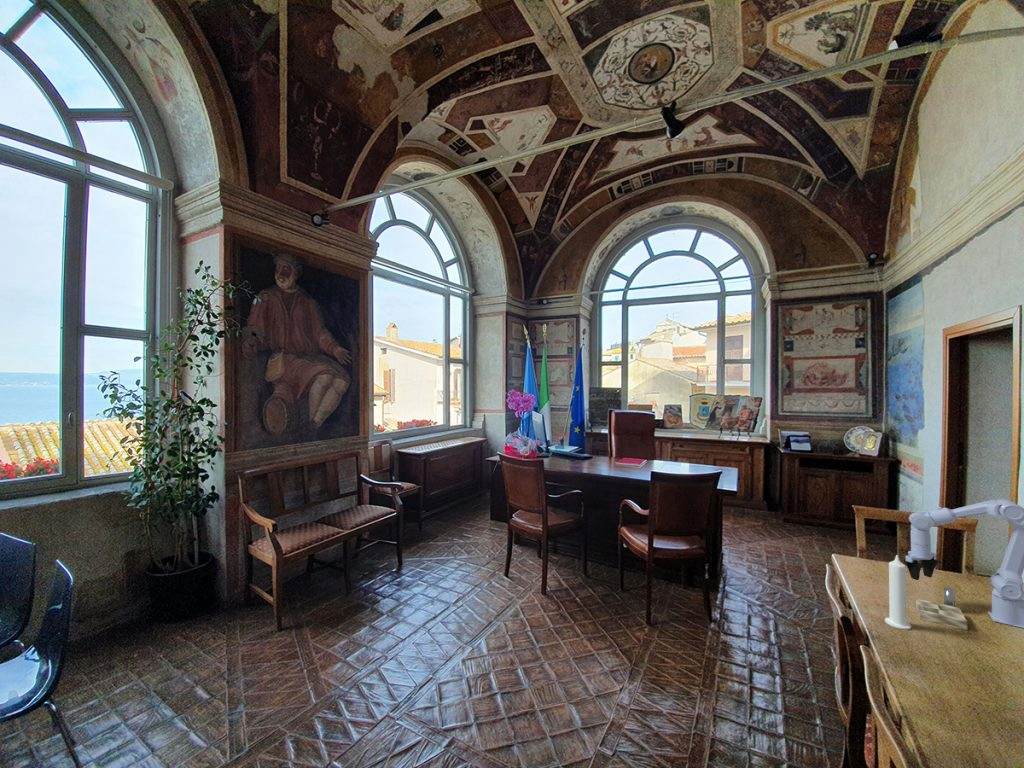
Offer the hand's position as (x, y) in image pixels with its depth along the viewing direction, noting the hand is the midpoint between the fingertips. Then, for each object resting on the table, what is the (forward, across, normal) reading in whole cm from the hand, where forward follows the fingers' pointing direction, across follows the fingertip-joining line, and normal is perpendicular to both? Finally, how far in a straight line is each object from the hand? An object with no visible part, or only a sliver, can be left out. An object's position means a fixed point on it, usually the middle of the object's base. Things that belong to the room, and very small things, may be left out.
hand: (921, 577), depth 168 cm
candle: (+10, +28, +8) cm, 30 cm away
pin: (+10, -3, +7) cm, 13 cm away
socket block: (+10, +7, +10) cm, 15 cm away
